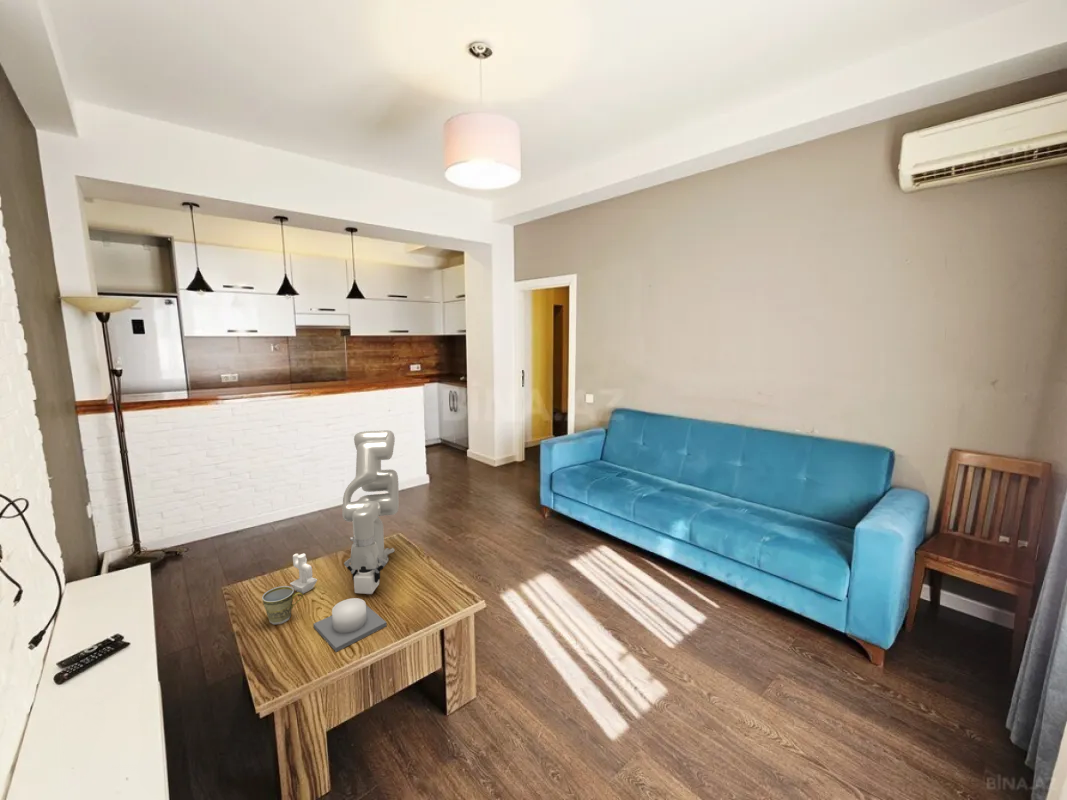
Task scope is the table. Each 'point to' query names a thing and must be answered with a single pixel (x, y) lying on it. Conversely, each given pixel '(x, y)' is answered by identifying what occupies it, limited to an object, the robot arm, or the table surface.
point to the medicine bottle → (365, 581)
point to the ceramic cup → (279, 603)
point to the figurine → (303, 574)
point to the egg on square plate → (349, 623)
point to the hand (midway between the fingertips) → (366, 580)
